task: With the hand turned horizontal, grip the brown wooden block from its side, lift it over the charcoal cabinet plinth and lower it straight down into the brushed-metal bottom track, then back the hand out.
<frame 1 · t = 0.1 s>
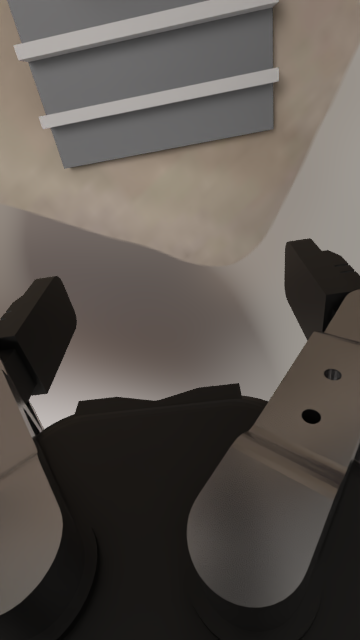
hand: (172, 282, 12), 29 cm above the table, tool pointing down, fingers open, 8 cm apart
track plinth: (152, 66, 32), on the table
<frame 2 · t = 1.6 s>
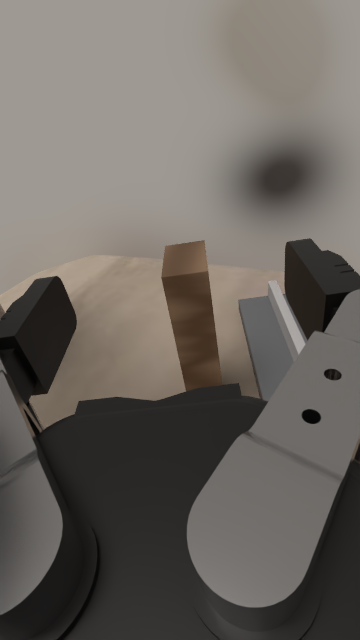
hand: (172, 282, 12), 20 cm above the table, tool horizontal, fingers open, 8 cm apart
brown wooden block: (209, 406, 32), on the table
track plinth: (319, 358, 35), on the table
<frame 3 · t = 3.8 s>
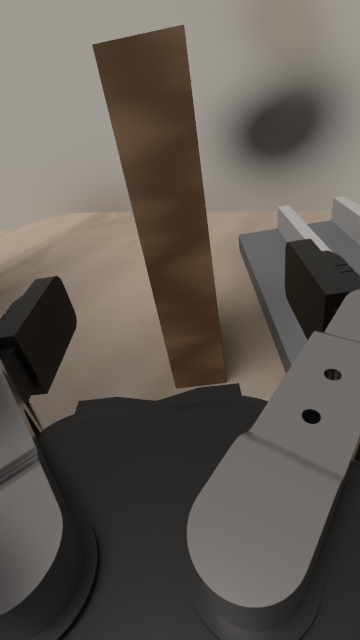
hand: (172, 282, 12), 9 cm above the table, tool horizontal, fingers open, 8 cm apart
brown wooden block: (198, 357, 22), on the table
track plinth: (355, 292, 25), on the table
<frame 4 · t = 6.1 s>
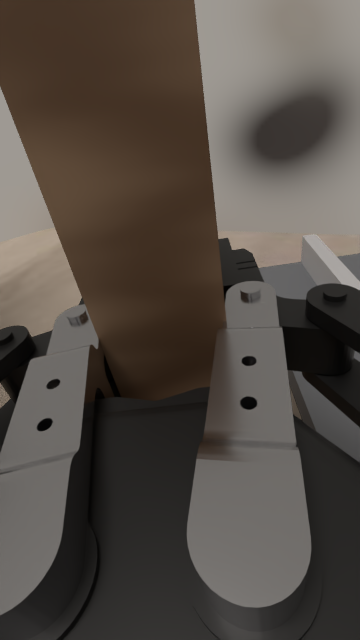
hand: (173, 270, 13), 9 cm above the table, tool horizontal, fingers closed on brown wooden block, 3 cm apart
brown wooden block: (205, 468, 15), on the table, touching gripper
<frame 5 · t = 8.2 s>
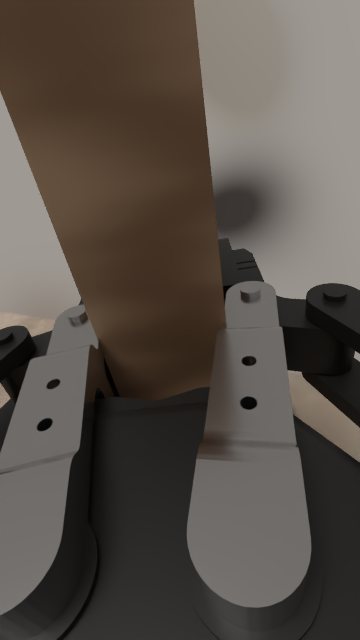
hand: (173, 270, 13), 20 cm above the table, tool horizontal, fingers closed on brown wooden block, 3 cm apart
brown wooden block: (205, 469, 15), point 11 cm above the table, touching gripper
when the fingers open (12 cm above the table, at t = 10.5 s): brown wooden block drops 1 cm, resting on track plinth.
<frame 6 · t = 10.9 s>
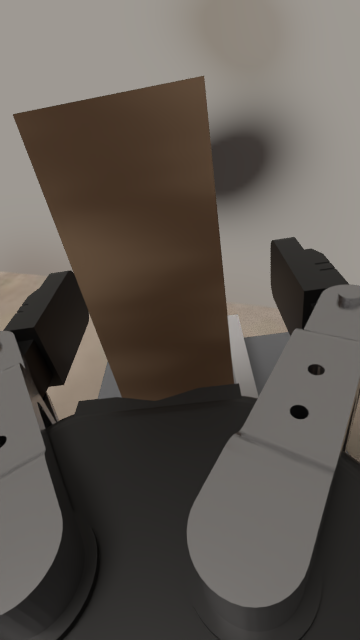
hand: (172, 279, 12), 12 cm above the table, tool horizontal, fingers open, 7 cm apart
brown wooden block: (210, 486, 16), point 1 cm above the table, touching track plinth
track plinth: (211, 501, 17), on the table
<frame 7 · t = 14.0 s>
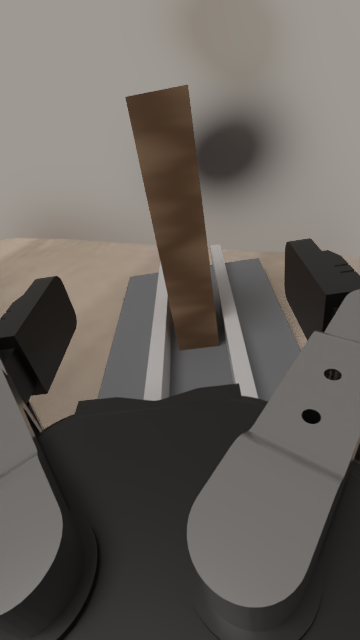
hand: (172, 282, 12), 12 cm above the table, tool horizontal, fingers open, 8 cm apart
brown wooden block: (198, 328, 27), point 1 cm above the table, touching track plinth
track plinth: (199, 342, 28), on the table
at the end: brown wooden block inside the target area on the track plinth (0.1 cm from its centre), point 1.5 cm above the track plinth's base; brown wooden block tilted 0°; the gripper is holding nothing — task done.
